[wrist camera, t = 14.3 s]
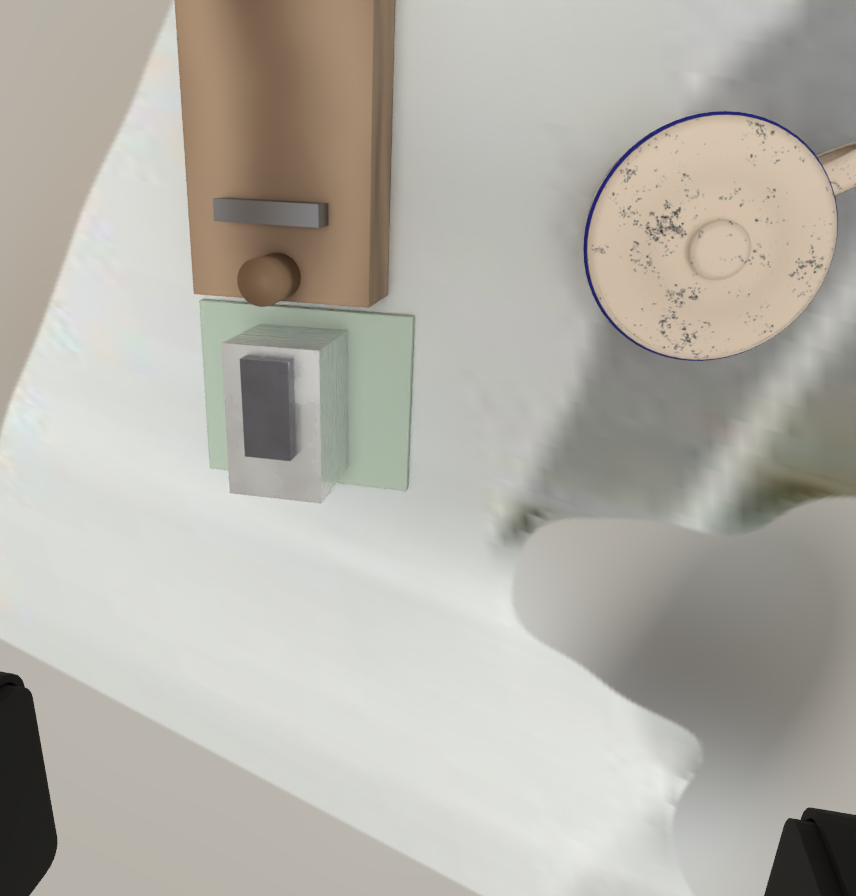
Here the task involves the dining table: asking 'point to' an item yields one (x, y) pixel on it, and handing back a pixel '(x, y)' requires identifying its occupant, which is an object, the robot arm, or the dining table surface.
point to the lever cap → (286, 411)
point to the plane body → (288, 147)
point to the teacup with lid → (714, 234)
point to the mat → (369, 382)
